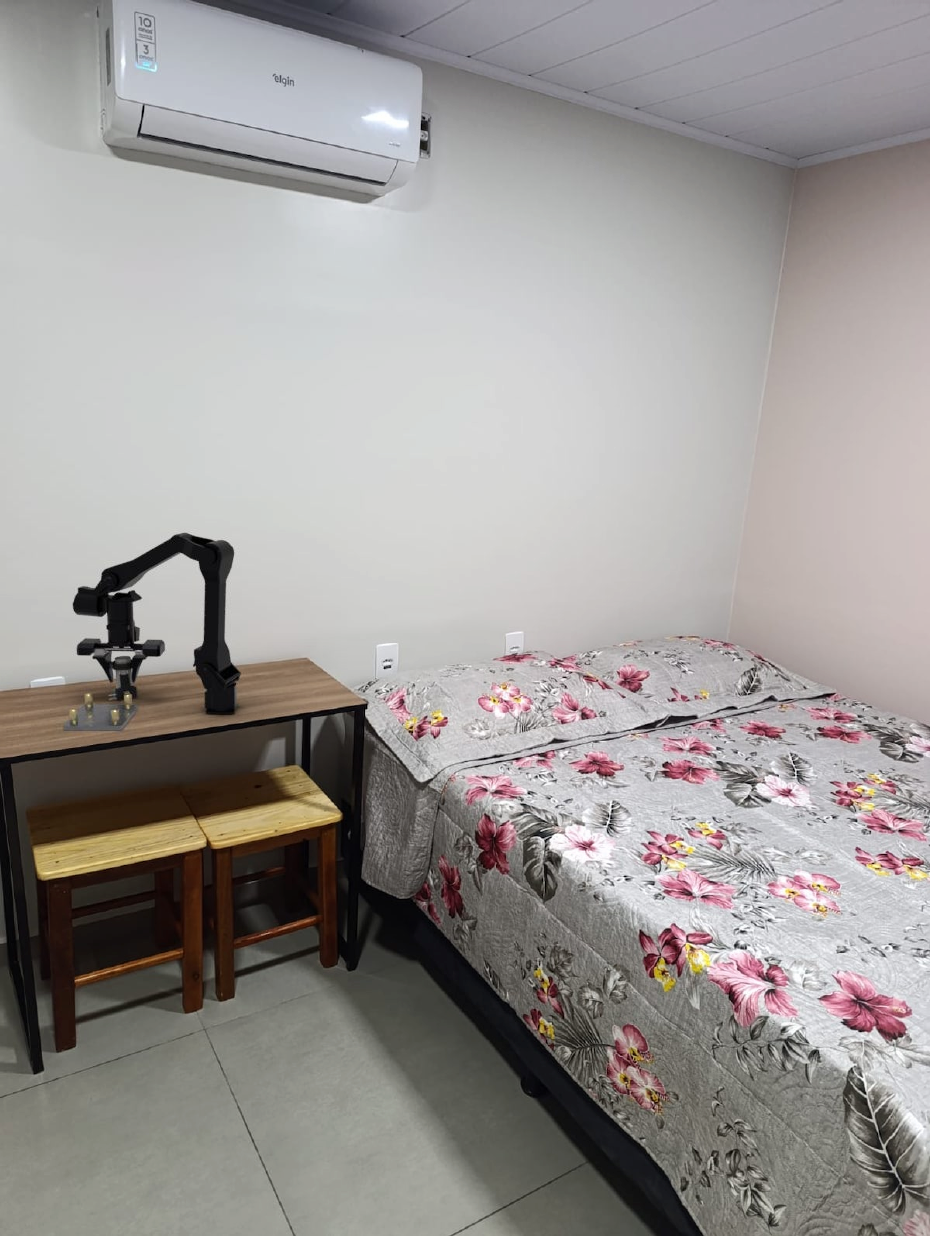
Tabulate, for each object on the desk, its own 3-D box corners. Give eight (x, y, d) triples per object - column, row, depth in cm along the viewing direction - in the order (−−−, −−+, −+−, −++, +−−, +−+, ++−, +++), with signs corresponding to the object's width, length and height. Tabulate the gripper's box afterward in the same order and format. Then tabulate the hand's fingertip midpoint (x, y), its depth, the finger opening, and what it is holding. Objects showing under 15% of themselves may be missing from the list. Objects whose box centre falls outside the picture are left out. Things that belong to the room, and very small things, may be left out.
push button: (113, 704, 200) (110, 662, 198) (104, 699, 204) (101, 658, 202) (141, 698, 204) (138, 657, 203) (131, 693, 208) (128, 654, 206)
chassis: (137, 709, 198) (137, 692, 197) (121, 730, 184) (120, 712, 183) (83, 708, 196) (82, 691, 196) (63, 730, 183) (62, 712, 182)
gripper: (169, 611, 209) (170, 673, 212) (89, 610, 206) (92, 671, 210) (158, 622, 198) (160, 686, 201) (74, 620, 196) (77, 685, 199)
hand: (122, 682), depth 203 cm, fingers open, 5 cm apart
